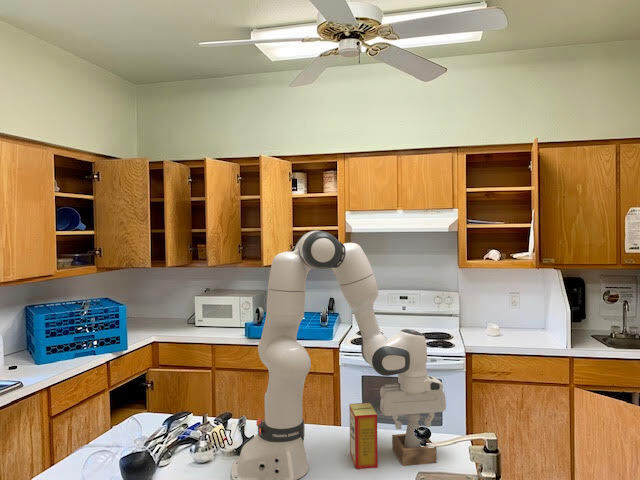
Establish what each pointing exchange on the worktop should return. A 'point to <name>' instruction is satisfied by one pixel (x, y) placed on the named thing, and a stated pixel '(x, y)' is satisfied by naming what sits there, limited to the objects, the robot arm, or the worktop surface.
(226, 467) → the worktop surface
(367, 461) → the baking soda box
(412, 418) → the salt shaker
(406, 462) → the box
